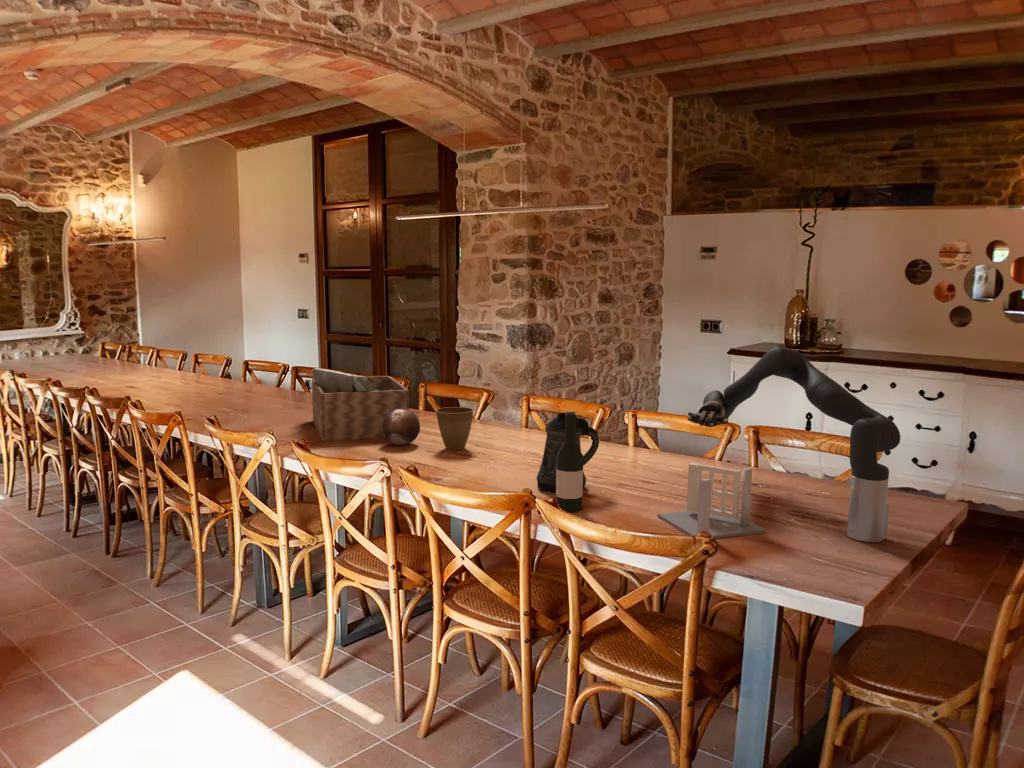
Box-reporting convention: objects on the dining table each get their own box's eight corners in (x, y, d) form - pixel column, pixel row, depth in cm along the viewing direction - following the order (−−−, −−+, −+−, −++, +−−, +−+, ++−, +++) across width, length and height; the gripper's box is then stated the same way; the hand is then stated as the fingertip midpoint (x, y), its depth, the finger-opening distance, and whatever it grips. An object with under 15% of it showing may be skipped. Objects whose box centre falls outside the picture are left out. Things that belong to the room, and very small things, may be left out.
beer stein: (527, 484, 264) (528, 411, 260) (575, 477, 273) (576, 407, 269) (553, 497, 249) (555, 420, 246) (603, 489, 259) (605, 415, 255)
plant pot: (477, 445, 320) (477, 407, 317) (467, 454, 305) (467, 413, 303) (442, 443, 323) (442, 405, 321) (431, 451, 309) (431, 411, 306)
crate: (390, 416, 379) (389, 375, 376) (409, 436, 336) (408, 390, 334) (313, 420, 367) (311, 378, 364) (322, 441, 325) (321, 393, 322)
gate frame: (721, 509, 238) (724, 455, 236) (765, 532, 218) (769, 473, 216) (657, 516, 231) (659, 460, 229) (697, 540, 211) (700, 479, 209)
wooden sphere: (380, 448, 313) (380, 411, 310) (386, 440, 328) (385, 405, 325) (418, 449, 313) (417, 412, 311) (422, 440, 328) (421, 405, 325)
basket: (418, 428, 349) (416, 366, 346) (361, 438, 327) (358, 372, 324) (364, 420, 376) (361, 363, 373) (308, 429, 354) (305, 368, 351)
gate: (739, 517, 225) (741, 470, 222) (735, 520, 222) (738, 472, 220) (690, 508, 233) (692, 462, 231) (686, 510, 231) (688, 464, 229)
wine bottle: (578, 513, 233) (580, 415, 228) (551, 510, 236) (553, 412, 231) (585, 506, 240) (588, 410, 236) (559, 503, 243) (561, 408, 239)
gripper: (691, 400, 257) (682, 409, 241) (733, 403, 252) (726, 412, 236) (690, 423, 258) (681, 433, 242) (732, 426, 253) (725, 437, 237)
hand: (703, 423), depth 239 cm, fingers closed
